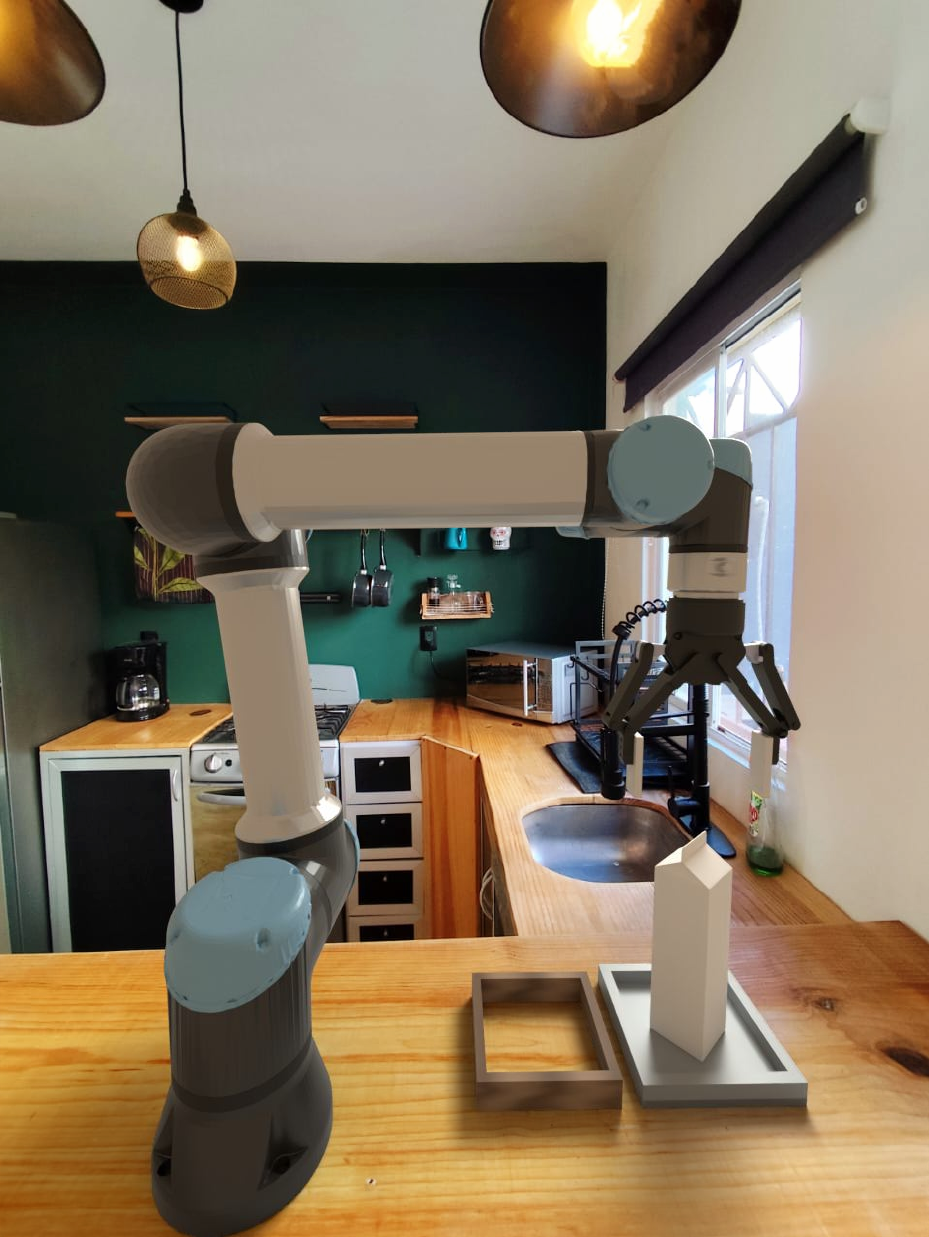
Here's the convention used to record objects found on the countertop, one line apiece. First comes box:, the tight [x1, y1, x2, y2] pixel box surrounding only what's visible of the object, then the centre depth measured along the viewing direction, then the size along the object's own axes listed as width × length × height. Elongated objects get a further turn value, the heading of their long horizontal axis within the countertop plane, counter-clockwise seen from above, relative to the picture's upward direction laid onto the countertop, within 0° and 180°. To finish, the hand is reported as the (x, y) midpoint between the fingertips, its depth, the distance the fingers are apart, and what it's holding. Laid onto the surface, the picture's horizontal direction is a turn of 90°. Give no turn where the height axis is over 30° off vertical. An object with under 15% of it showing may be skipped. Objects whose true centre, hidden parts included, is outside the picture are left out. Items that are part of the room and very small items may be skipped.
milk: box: [650, 830, 733, 1062], centre depth 58 cm, size 6×6×22 cm
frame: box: [471, 971, 624, 1112], centre depth 58 cm, size 14×14×3 cm
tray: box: [597, 962, 809, 1109], centre depth 59 cm, size 16×16×2 cm
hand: (696, 793), depth 57 cm, fingers open, 13 cm apart
